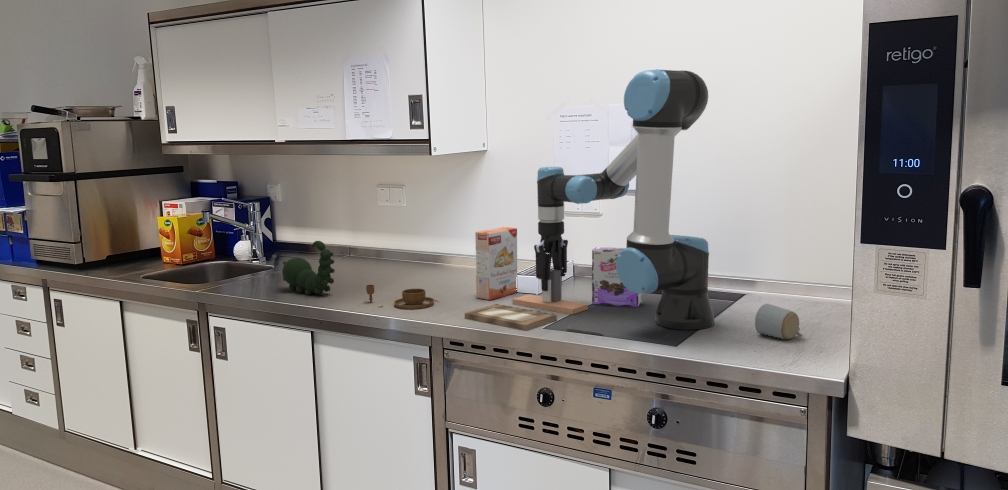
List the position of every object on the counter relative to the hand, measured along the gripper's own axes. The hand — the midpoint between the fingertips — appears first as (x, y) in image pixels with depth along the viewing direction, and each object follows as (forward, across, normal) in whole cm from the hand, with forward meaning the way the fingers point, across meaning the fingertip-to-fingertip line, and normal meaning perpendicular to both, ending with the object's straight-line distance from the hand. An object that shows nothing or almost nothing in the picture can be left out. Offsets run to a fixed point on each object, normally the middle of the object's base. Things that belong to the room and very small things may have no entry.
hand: (552, 299), depth 223 cm
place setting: (+3, +22, -39) cm, 45 cm away
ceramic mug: (+2, -7, +64) cm, 65 cm away
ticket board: (+2, +19, 0) cm, 19 cm away
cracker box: (+2, -1, -22) cm, 22 cm away
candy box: (+2, -13, +14) cm, 19 cm away
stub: (+2, +1, 0) cm, 2 cm away
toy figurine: (+2, +30, -77) cm, 83 cm away
